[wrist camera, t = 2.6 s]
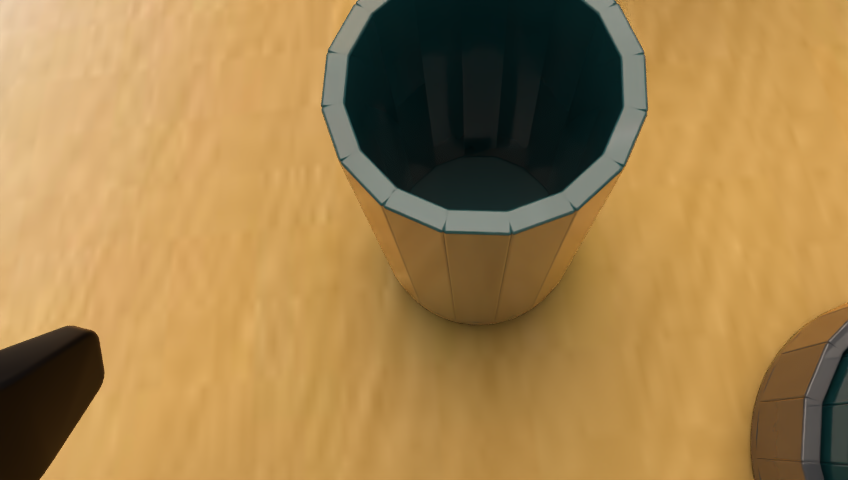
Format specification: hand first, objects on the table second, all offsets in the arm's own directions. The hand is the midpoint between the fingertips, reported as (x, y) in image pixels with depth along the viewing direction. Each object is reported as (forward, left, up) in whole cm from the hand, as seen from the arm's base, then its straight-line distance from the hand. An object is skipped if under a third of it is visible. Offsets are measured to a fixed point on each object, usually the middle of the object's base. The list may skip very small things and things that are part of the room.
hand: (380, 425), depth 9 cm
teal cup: (+6, +4, -12) cm, 14 cm away
